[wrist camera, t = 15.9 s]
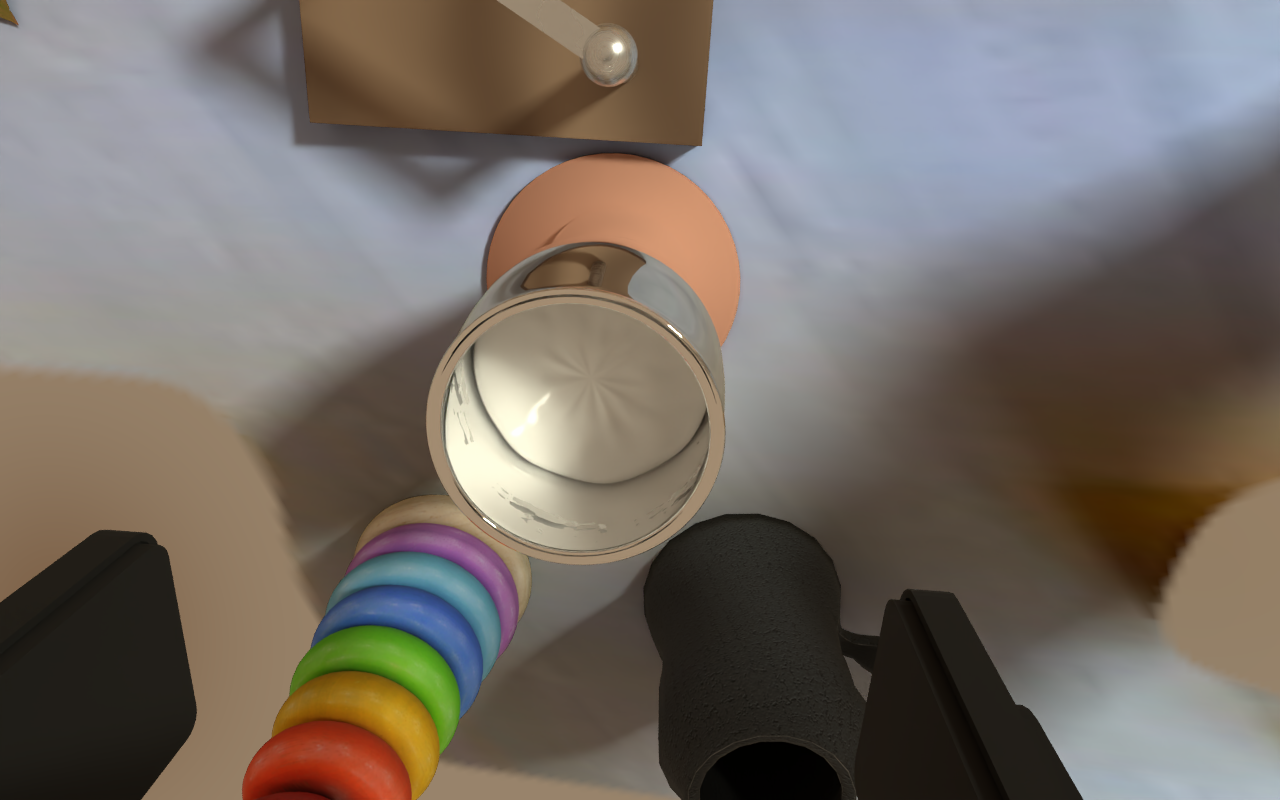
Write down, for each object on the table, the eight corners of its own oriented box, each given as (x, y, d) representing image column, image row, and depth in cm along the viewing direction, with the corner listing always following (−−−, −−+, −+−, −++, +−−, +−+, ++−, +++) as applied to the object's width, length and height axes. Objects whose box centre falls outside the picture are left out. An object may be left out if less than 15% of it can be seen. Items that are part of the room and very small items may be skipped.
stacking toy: (454, 453, 34) (231, 820, 17) (569, 580, 36) (479, 1023, 19) (326, 547, 36) (8, 964, 19) (443, 662, 38) (255, 1135, 21)
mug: (632, 667, 38) (618, 883, 28) (655, 501, 35) (651, 673, 24) (878, 697, 38) (958, 923, 28) (924, 533, 35) (1035, 719, 25)
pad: (752, 161, 30) (753, 161, 29) (727, 409, 33) (727, 411, 33) (486, 144, 30) (484, 145, 29) (489, 394, 33) (488, 396, 33)
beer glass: (570, 392, 33) (497, 609, 19) (500, 234, 31) (357, 347, 17) (729, 335, 32) (778, 521, 18) (668, 167, 30) (668, 227, 16)
